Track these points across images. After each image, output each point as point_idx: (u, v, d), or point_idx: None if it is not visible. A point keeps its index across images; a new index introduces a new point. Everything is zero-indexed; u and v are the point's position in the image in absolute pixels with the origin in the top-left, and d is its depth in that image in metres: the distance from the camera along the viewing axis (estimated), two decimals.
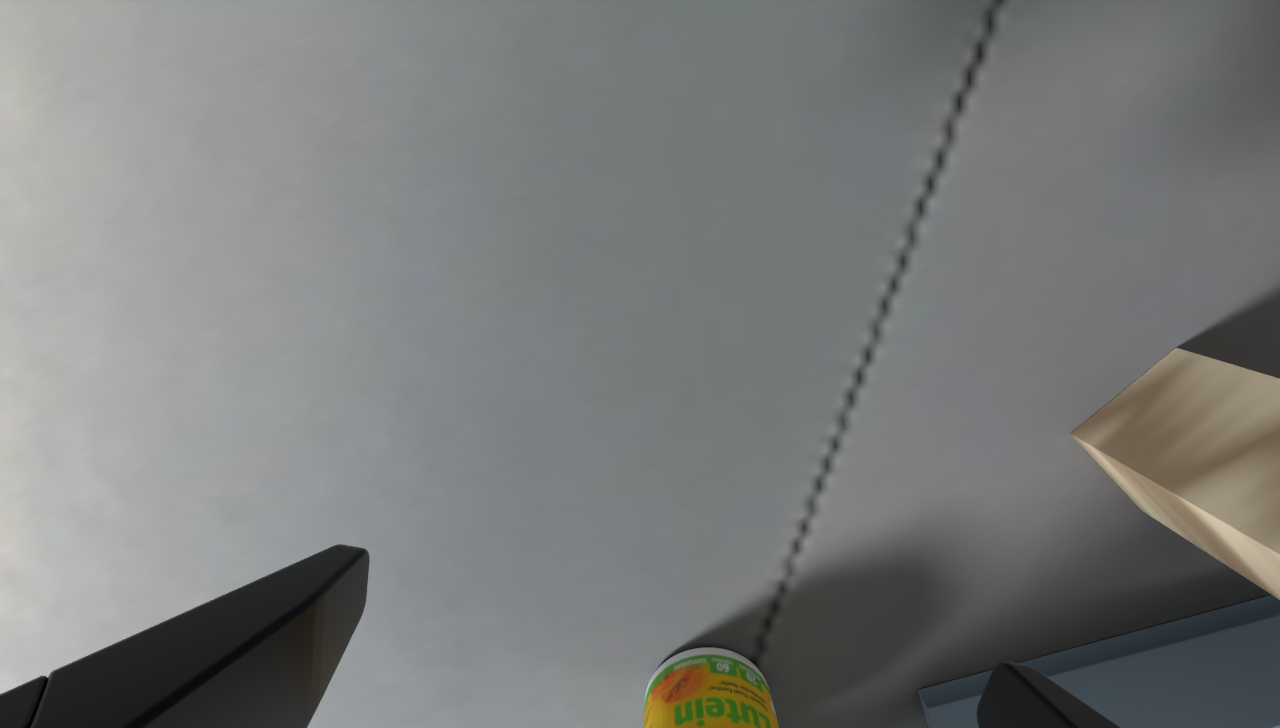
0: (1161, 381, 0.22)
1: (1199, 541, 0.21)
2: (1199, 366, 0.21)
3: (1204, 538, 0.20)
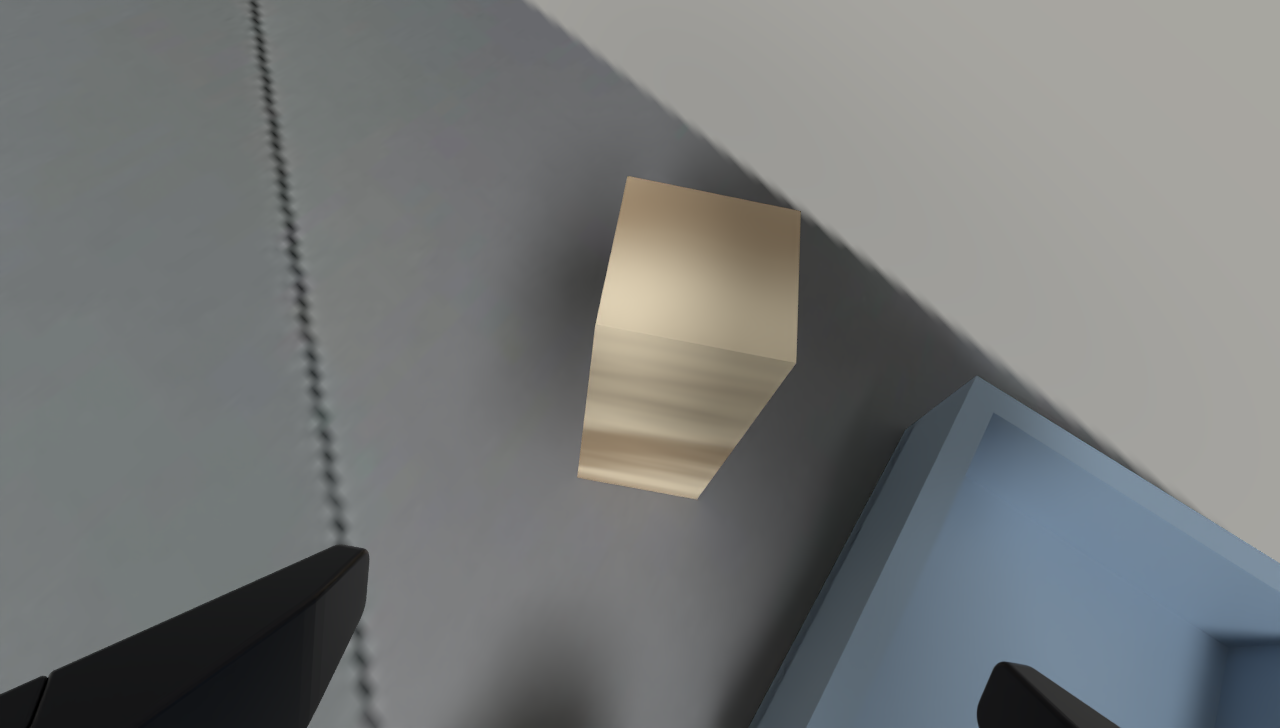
0: None
1: (690, 467, 0.21)
2: None
3: (672, 456, 0.20)
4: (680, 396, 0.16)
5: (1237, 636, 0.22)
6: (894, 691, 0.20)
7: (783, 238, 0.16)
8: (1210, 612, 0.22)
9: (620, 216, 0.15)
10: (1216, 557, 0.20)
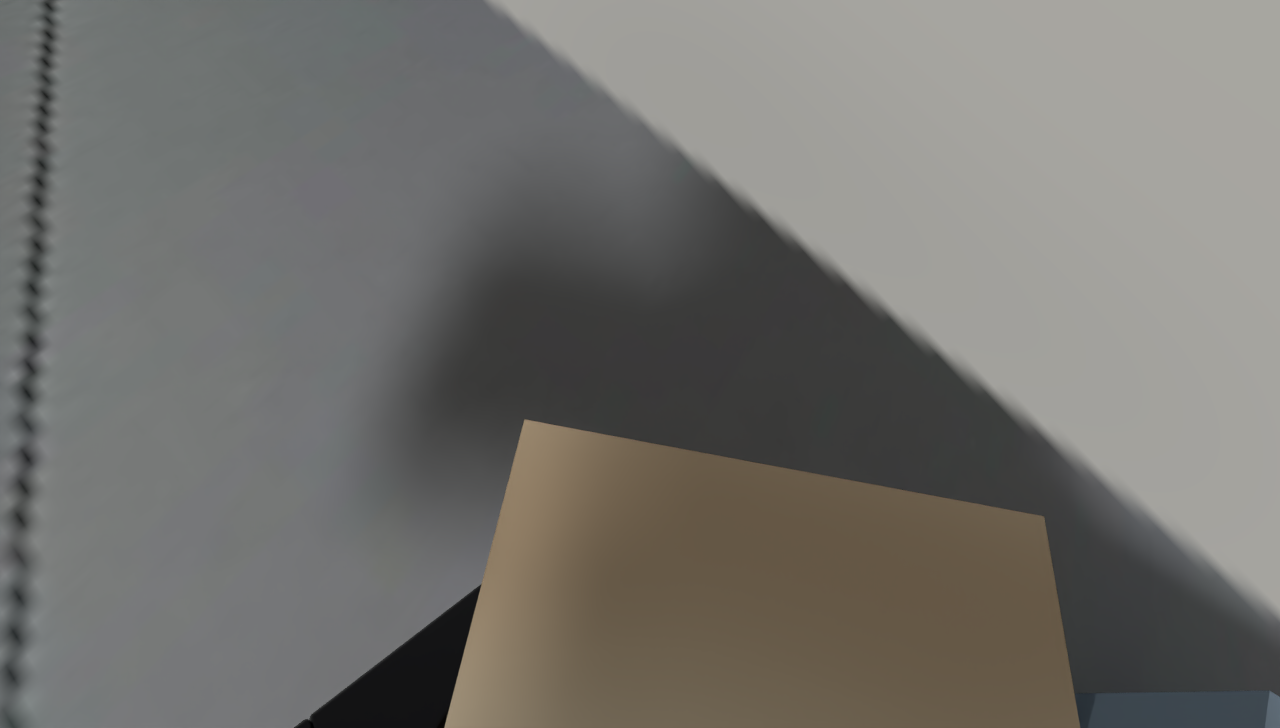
0: None
1: None
2: None
3: None
4: None
5: None
6: None
7: (1013, 633, 0.05)
8: None
9: (485, 589, 0.05)
10: None
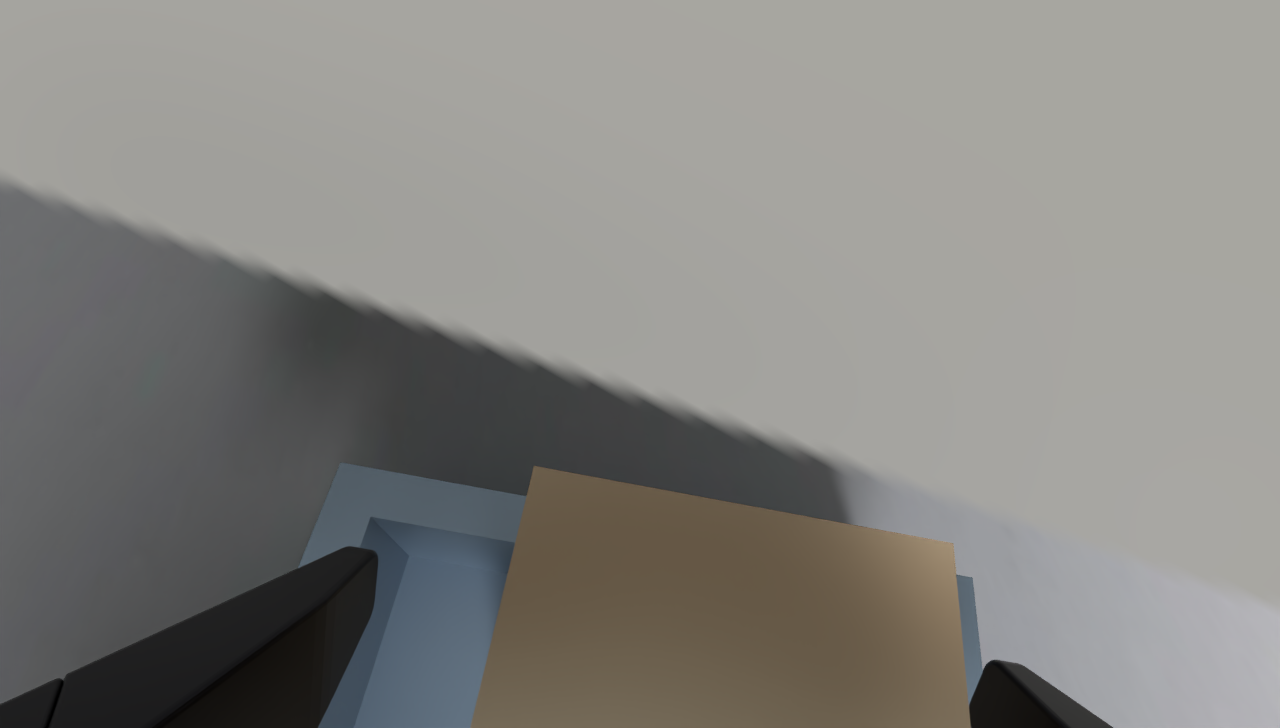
0: None
1: None
2: None
3: None
4: None
5: None
6: None
7: (922, 638, 0.06)
8: None
9: (504, 603, 0.06)
10: None
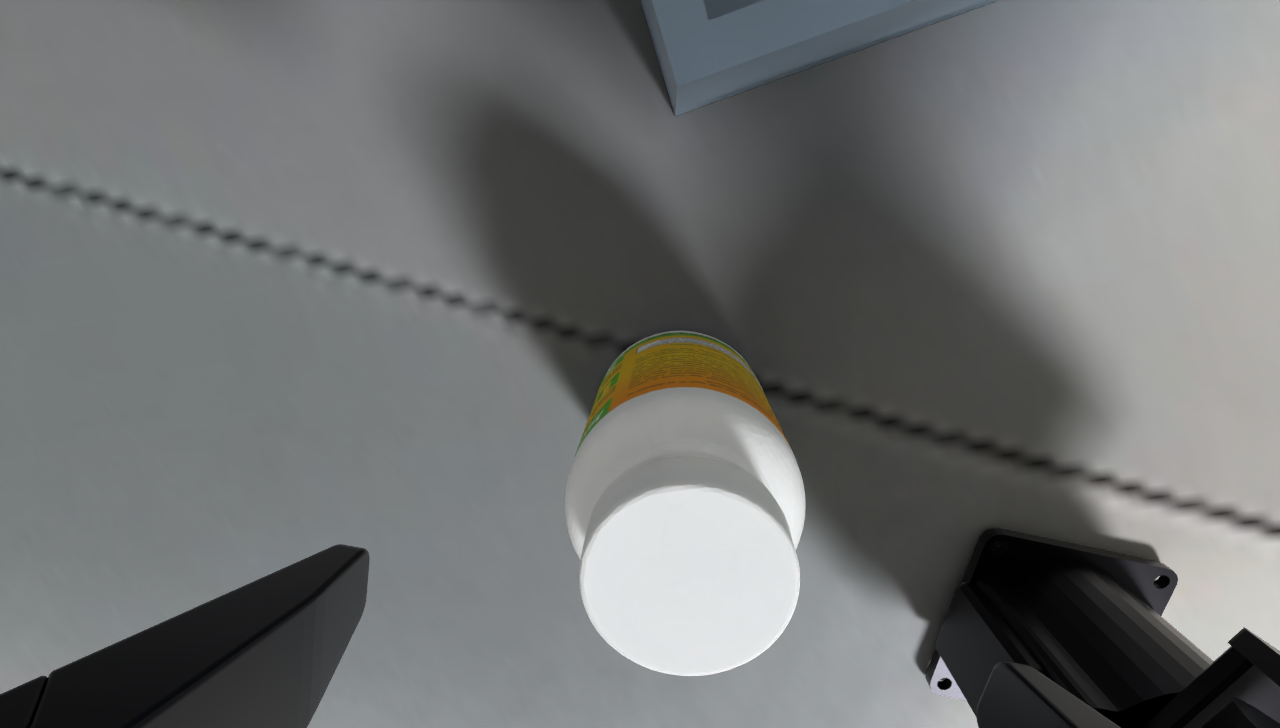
0: None
1: None
2: None
3: None
4: None
5: None
6: None
7: None
8: None
9: None
10: None
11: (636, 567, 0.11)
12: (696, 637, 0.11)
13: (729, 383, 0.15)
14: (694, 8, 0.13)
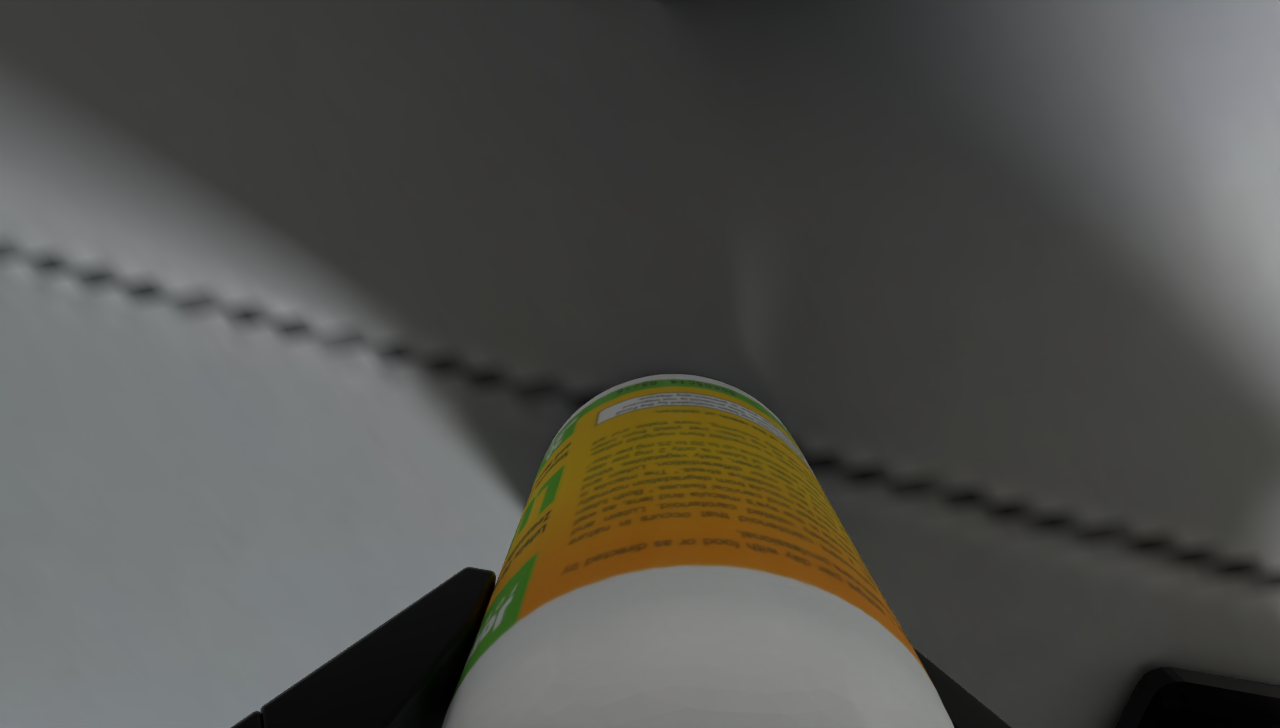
0: None
1: None
2: None
3: None
4: None
5: None
6: None
7: None
8: None
9: None
10: None
11: None
12: None
13: (786, 526, 0.07)
14: None
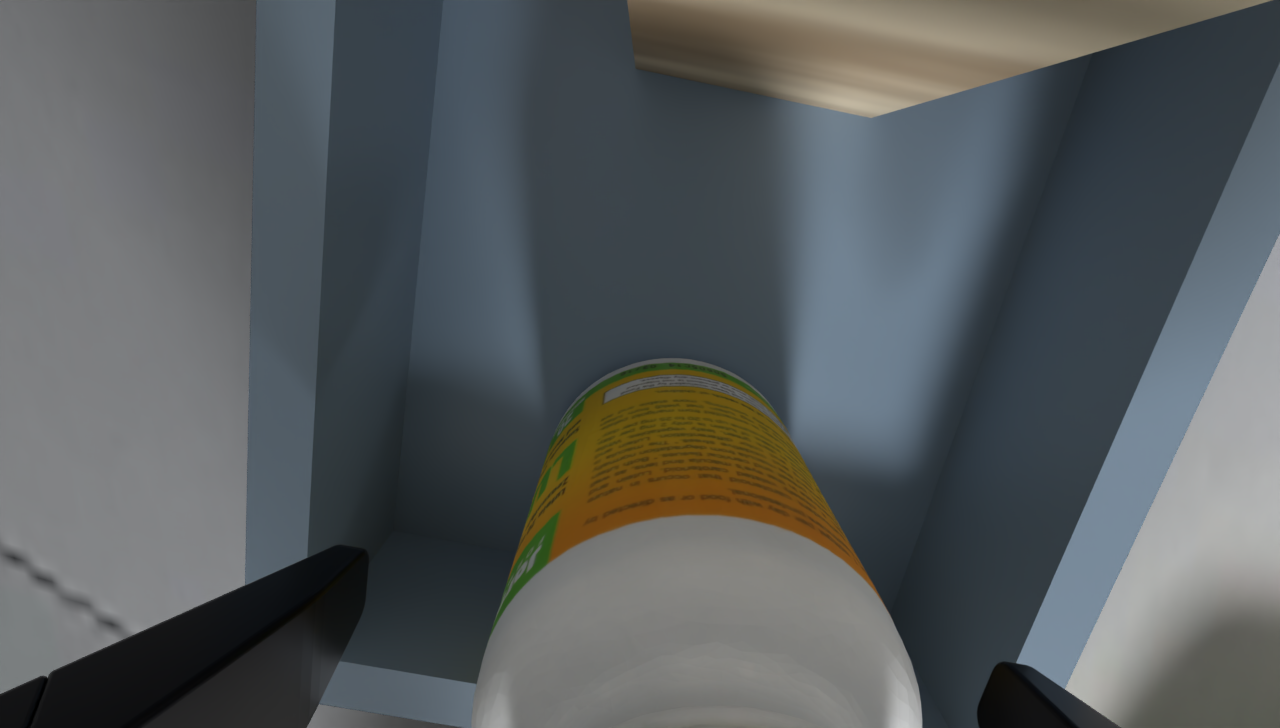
0: None
1: (888, 82, 0.09)
2: None
3: (852, 62, 0.08)
4: None
5: None
6: (532, 238, 0.13)
7: None
8: None
9: None
10: None
11: None
12: None
13: (769, 486, 0.08)
14: None
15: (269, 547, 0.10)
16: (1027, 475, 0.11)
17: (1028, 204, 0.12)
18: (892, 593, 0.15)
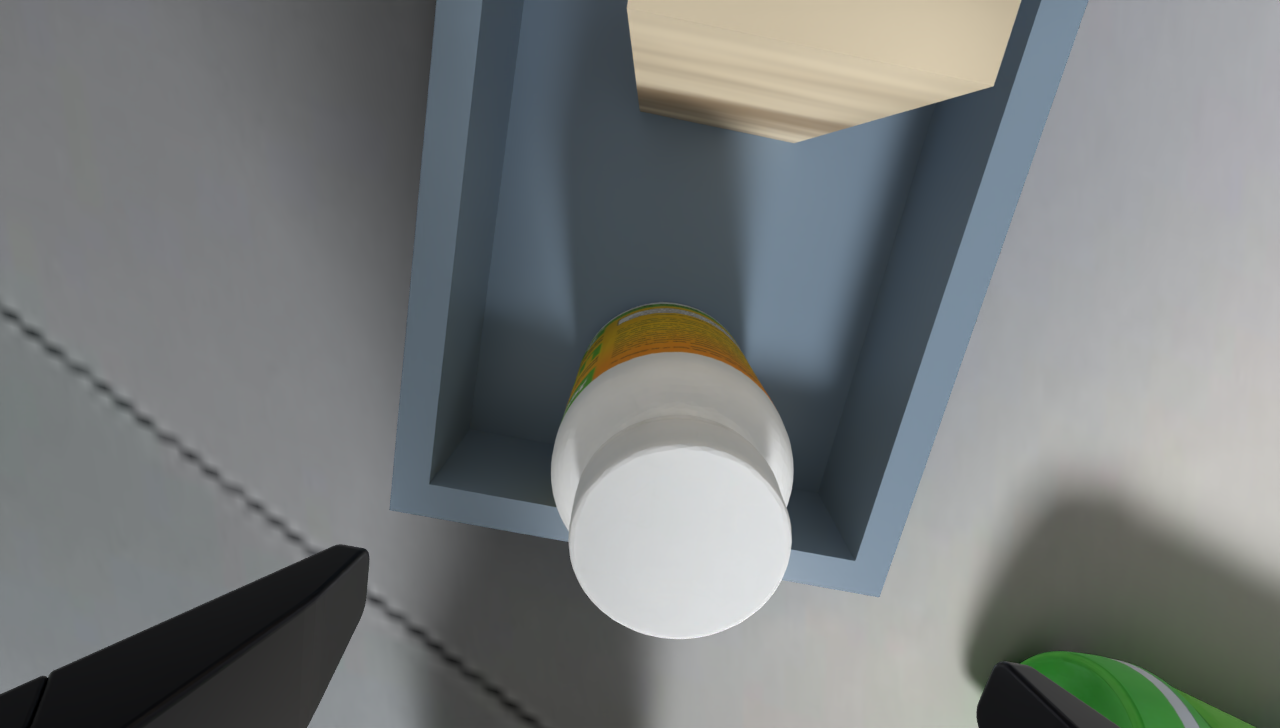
0: None
1: (788, 127, 0.15)
2: None
3: (763, 118, 0.14)
4: (778, 84, 0.10)
5: None
6: (570, 222, 0.19)
7: None
8: None
9: None
10: None
11: (627, 531, 0.11)
12: (689, 599, 0.11)
13: (713, 348, 0.14)
14: (422, 472, 0.17)
15: (413, 411, 0.16)
16: (891, 373, 0.17)
17: (900, 200, 0.19)
18: (819, 474, 0.21)
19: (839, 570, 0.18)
